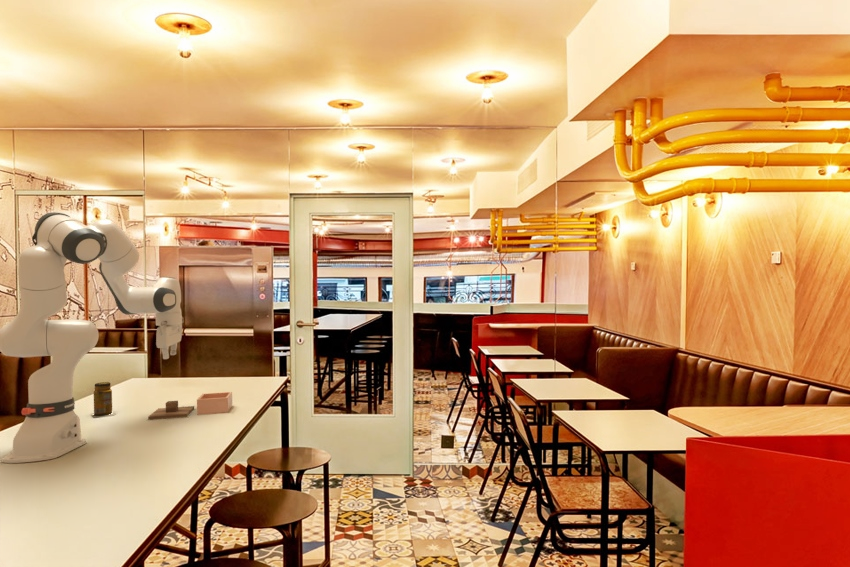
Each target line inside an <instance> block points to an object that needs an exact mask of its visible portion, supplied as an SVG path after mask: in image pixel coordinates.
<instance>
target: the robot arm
mask: <svg viewBox="0 0 850 567" xmlns="http://www.w3.org/2000/svg"><path fill="white" fill-rule="evenodd" d="M31 239H32V243H33V244H34V245H31V246H29V247H26V248H25V249H23V250H22V251H21V253H20V255H19V259H18V274H17V275H18V285H19V294H20V307H19V310H18V313H17V314H16V315H15V317H14V318H13V319H11V320H10V321H9V322H7V323H6V324H4V325H3V326H2V327H1V328H0V352H1V354H3V355H4V356H5V357H12V358H13V357H15V358H34V357H35V358H36V357H47V356H49V357H52V360H51V363H49V364H47V365H45V366H43V367H41V368H39V369H37V370H36V371H34V372H33V373H32V374H30V376H29V379H28V380H27V383H28V384H27V386H28V387H27V389H28V402H27V403H26V407H23V408H22V409H21V412H20V413H21V415H22V416H25V418H24V421H23V422H22V424H21V426H20V427H19V429H18V430H17V433H16V434H15V435H14V437H13V441H12V450H11V451H9V452H8V454H6V455H5V456H4V457H3V458H2V461H1V462H2V463H5V464H18V463H30V462H31V463H33V462H40V461H46V460H47V461H48V460H51V459H52V460H53V459H56V458H58V457H61V456H63V455H65V454H67V453H70V452H72V451H73V450H75V449H77V448H79V447H81V446H83V445H85V444H87V439H85V438H82V429H81V418H80V416H79V415H77V413H76V412H75V411H74V410H75V409H76V408H75V404H76V402H75V398H74V397H73V382H74V381H73V380H74V373H75V370H76V368H77V365H78V363H79V362H80V361H81V359H83V357H84V356H85V355H87V354H88V353H89V352H90V351H92V350H93V349H94V348H95V347H96V345H97V344H98V341H99V336H100V334H99V330H98V328H97V325H95V323H93V322H92V321H91V320H85V319H76V318H68V319H48V318H49V317H52V316H54V315H56V314H58V313H60V312H61V311H62V310H63V309H65V307H66V306H67V303H68V294H67V283H66V282H67V281H66V277H65V276H66V275H65V265H66V263H67V261H70V262H72V263H75V264H81V265H82V264H83V265H84V264H85V265H86V264H90V263H93V262H94V261H95V260H97V259H98V260H99V261H100V262H99V266H98V268H99V273H100V275H101V277H102V279H103V281H104V282H105V285H106V286H107V288H108V289H109V291H110V293H111V294H112V296H113V298H114V300H115V301H114V302H115V304H116V307H117V309H118V310H119V312H121V313H122V314H124V315H127V316H128V315H137V314H140V315H141V314H144V315H145V314H155V326H156V327H157V326H158V327H157V328H156V334H155V335H156V340H155V341H156V342H155V345H156V348H158V349H160V350H161V354H162V359H163V360H168V359H169V358H170V356H175V355H177V348H178V343H180V342H181V341H182V336H183V323H184V317H183V316H182V314H183V313H182V308H181V303H182V291H181V285H180V281H179V279H178V278H176V277H170V276H160V277H157V278H156V281H155V283H154V284H153V285H151V286H134V285H133V286H132V285H130V284H128V282H127V280H126V279H125V277H124V275H126V274H128V273H130V272H131V271H132V270H133V269H134V268H135V267H136V266H137V265H138V263H139V259H140V252H139V250H138V248H137V246H136V245H135V244H134V242H133V241H132V239H131V238H130V237H129V236H128V234H127V233H126V232H125V231H124V230H123V229H122V227H120V226H119V225H118V224H117V223H116V222H114V221H112V220H110V219H108V218H107V219H106V218H101V219H97V220H94V221H92V222H91V223H90V224H88V225H87V224H84V223H83V222H82V221H79V220H77V219H75V218H73V217H71V216H70V215H69V214H65V213H63V212H57V211H56V212H48V213H45V214H43V215H42V216H40V217H39V219H38V220H37V222H36V223H35V227H34V233H33V235H32V236H31ZM169 347H170V351H169Z"/></svg>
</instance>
